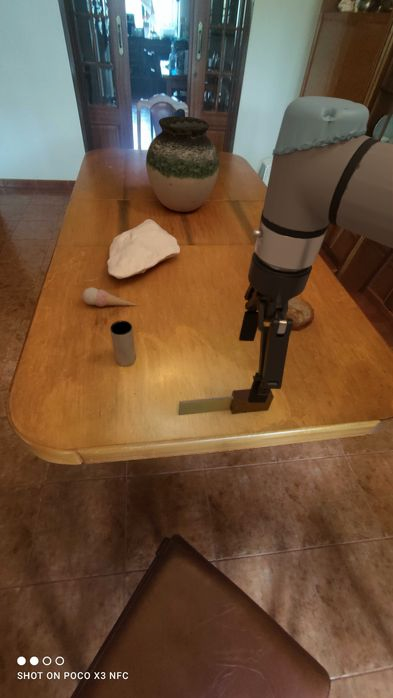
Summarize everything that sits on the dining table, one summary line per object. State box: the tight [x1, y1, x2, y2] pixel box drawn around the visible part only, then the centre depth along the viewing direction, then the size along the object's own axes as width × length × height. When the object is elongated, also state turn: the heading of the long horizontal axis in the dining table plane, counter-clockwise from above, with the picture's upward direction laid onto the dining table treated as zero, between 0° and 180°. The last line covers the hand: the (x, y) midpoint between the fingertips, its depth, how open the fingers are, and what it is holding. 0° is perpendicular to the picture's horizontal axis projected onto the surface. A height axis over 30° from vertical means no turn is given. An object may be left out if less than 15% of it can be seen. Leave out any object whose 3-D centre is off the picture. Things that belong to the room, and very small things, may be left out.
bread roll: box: [286, 297, 315, 331], centre depth 87 cm, size 10×10×8 cm
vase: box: [145, 115, 220, 213], centre depth 124 cm, size 28×28×30 cm
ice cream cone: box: [82, 287, 139, 308], centre depth 86 cm, size 5×5×15 cm
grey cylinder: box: [109, 320, 137, 367], centre depth 71 cm, size 4×4×10 cm
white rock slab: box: [107, 218, 181, 280], centre depth 101 cm, size 24×35×9 cm
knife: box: [178, 388, 275, 416], centre depth 65 cm, size 19×2×5 cm, turn 99°
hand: (250, 367), depth 55 cm, fingers open, 13 cm apart
